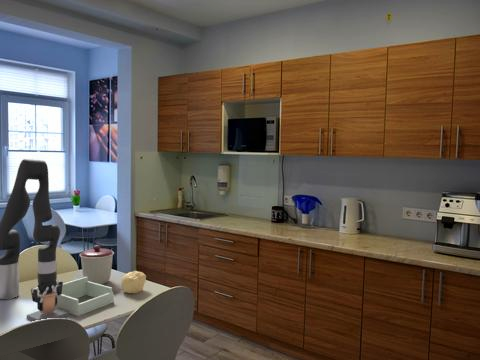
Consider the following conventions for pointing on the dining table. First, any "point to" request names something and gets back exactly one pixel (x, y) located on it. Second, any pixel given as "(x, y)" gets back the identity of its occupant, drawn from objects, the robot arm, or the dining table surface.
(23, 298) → the dining table surface
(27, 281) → the dining table surface
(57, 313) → the slate board
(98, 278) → the canister
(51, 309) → the terracotta pot
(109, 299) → the pale green open box
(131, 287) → the sculpture
